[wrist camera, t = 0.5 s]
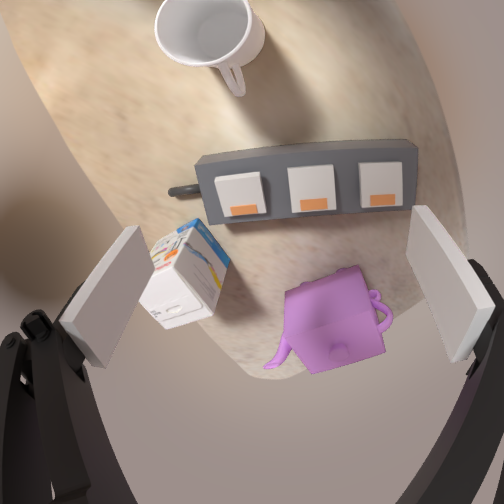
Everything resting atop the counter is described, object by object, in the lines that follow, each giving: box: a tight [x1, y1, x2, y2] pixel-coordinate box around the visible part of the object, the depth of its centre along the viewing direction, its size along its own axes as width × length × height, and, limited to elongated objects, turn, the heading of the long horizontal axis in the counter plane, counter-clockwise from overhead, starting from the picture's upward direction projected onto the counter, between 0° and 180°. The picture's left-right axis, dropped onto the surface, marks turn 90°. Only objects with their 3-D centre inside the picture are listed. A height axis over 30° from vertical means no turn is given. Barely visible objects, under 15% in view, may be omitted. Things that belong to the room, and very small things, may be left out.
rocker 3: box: [358, 161, 403, 208], centre depth 31 cm, size 5×5×1 cm
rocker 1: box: [214, 172, 267, 217], centre depth 34 cm, size 5×5×1 cm
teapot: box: [263, 265, 393, 374], centre depth 43 cm, size 20×10×12 cm, turn 119°
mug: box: [154, 0, 265, 97], centre depth 24 cm, size 12×8×12 cm
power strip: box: [168, 139, 418, 225], centre depth 36 cm, size 8×32×4 cm, turn 99°
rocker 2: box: [287, 164, 336, 213], centre depth 33 cm, size 5×5×1 cm
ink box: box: [139, 218, 230, 330], centre depth 41 cm, size 9×8×12 cm
